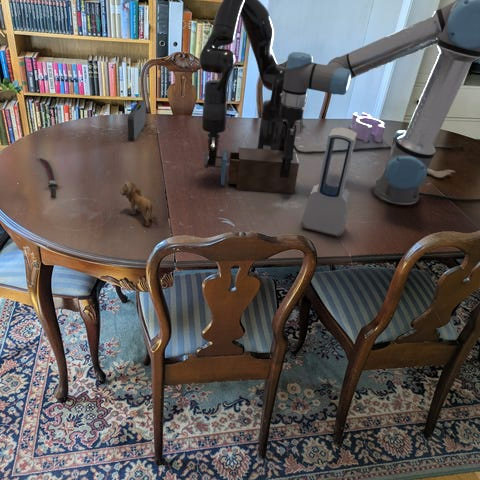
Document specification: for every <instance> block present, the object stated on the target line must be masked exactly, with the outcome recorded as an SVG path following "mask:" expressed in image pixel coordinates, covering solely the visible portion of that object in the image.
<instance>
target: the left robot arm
mask: <svg viewBox="0 0 480 480" xmlns="http://www.w3.org/2000/svg"><path fill="white" fill-rule="evenodd" d="M239 20H241V22H242V26H243V29H244V31H245V34H246V38H247V39H248V42H249V44H250V47H251V50H252V53H253V56H254V58H255V62H256V65H257V70H258V74H259V77H260V81H261V84H262V85H263V87H264V89H266V90H268V91H270V92H271V95H270V99H266V100H263V102H262V105H261V114H260V123H259V131H258V138H257V139H258V140H257V148H256V149H266V150H279V145H280V144H279V143H280V141H279V139H280V134H281V129H282V124H283V118H281V117H280V116H279V112H280V105H281V104H282V103H281V99H282V97H281V96H280V94H282V93H283V85H284V77H285V68H286V67H284V66H281V65H279V64H278V62H277V59H276V57H275V54H274V51H273V44H274V39H275V29H274V25H273V22H272V19H271V16H270V12H269V10H268V9H267V8H266V6H265V5H264V3H262V2H261V1H260V0H222V1H221V3H220V4H219V6H218V8H217V10H216V14H215V16H214V20H213V25H212V28H211V32H210V34H209V37H208V39H207V40H206V43H205V44H204V45H203V48H202V49H201V52H200V54H199V58H198V64H199V67H200V69H201V70H202V71H203V72H205V73H211V74H218V75H220V78H218V79H211V80H210V79H209V80H207V81H205V83H204V91H203V92H204V93H203V94H204V95H203V99H204V100H203V105H202V124H201V125H202V126H201V127H202V130H203V131H204V132H207V137H206V138H207V139H206V142H207V150H208V154H209V165H217V164H216V163H217V162H216V161H217V158H216V156H218V150H219V144H220V140H221V139H220V138H221V137H220V135H221V133H224V132H225V131H226V129H227V114H228V105H227V103H228V102H227V101H228V100H227V99H228V88H229V84H230V80H231V78H232V77H231V76H232V74H233V71H234V69H235V66H236V56H235V54H234V52H233V51H232V50H230V49H226V48H220V47H224V46H230V45H232V44H233V43H234V41H235V39H236V33H237V29H238V25H239ZM280 146H281V145H280ZM458 146H460V144H458ZM391 147H392V145H389V146H388V145H387V146H372V147H371V146H370V147H358V148H357V147H356V148H353V152H359V151H372V150H384V149H385V150H386V149H391ZM434 148H435V149H444V150H445V149H446V150H447V149H449V150H451V149H457V148H458V147H453V146H443V147H434ZM459 148H460V149H461V150H464V146H462V147H459ZM325 151H326V150H311V151H302V150H299V149H298V148H297V146H296V145H295V144H294V152H296V153H298V154H305V155H310V154H325ZM344 152H345V153H346V152H347V148H345V149H333V150H332V153H344Z"/></svg>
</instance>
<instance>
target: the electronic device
mask: <svg viewBox="0 0 480 480" xmlns="http://www.w3.org/2000/svg"><path fill="white" fill-rule="evenodd" d="M356 135H357V133H356V132H354V131H353V130H351V129H350V128H346V127H333V128H332V129H331V131H330V133H329V135H328V137H327V142H326V146H325V150H324V151H325V153H324V157H323V161H322V167H321V171H320V176H319V181H318V183H317V184H315V185H313V187H312V189H311V191H310V194H309V196H308V200H307V202H306V205H305V209H304V212H303V216H302V218H301V221H300V224H301V226H302V228H303V229H306V230H309V231H314V232H318V233H322V234H325V235H329V236H332V237H333V236H334V237H339V236H342V235H343V233H344V230H345V227H346V222H347V215H348V209H349V208H348V207H349V199H350V193H349V191H348V190H347V189H346V188H345V186H346V182H347V181H346V180H347V178H348V173H349V169H350V165H351V160H352V156H353V152H354V151H353V149H355V148H354V147H355V144H356V140H357V138H356ZM335 140H342V141H345V142H347V143H348V144H347V147H346V149H347V151H346V152H345V156H344V157H345V158H344V161H343V165H342V170H341V174H340V179H339V182H338V186H336V185H335V186H334V185H330V184H328V183H327V178H328V173H329V169H330V164H331V159H332V155H333V152H332V150H334V145H335Z"/></svg>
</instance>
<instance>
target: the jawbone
mask: <svg viewBox="0 0 480 480" xmlns="http://www.w3.org/2000/svg"><path fill="white" fill-rule="evenodd" d="M452 173H454V174H455V173H456V171H455V170H453V169H444V170H440V171H438V170H433V169H431V168H429V167H428V169H427V174H426V175H429V176H432V177H434V178H435V179H442V178H444V177H446V176H447V177H448V178H450V177H451V176H452Z"/></svg>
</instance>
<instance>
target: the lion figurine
mask: <svg viewBox="0 0 480 480" xmlns="http://www.w3.org/2000/svg"><path fill="white" fill-rule="evenodd" d="M119 193H120V194H121V196H122V197H124V196H125V198H126V199H127V200H128V202H129V203H130V207H131V211H130V212H129V213H130V215H135V214H136V211H137V212H141V214H142V216H143V218H144V219H145V223H144V225H145V227H149V226H150V221H152V223H153V225H155V226H159V222H156V221H155V219H154V217H153V216H154V215H153V204H152V202H151V200H150V199H148V198H146V197H145V196H144V195H143V194H142V192H141V190H140V187H138V185H136V184H135V183H133V182H132V181H125V182H124V186H122V188H121V189H119ZM136 207H137V208H136ZM148 214H149V216H148Z"/></svg>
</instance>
